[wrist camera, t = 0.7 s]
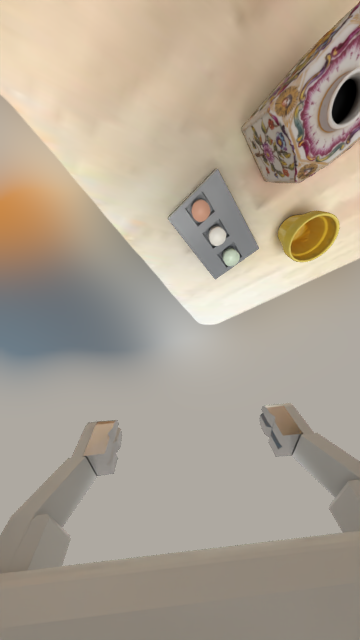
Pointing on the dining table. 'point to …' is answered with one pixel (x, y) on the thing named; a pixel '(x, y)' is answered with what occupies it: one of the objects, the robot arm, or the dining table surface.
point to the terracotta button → (200, 210)
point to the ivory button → (217, 235)
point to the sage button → (230, 257)
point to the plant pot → (308, 235)
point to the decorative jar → (311, 109)
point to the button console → (221, 215)
